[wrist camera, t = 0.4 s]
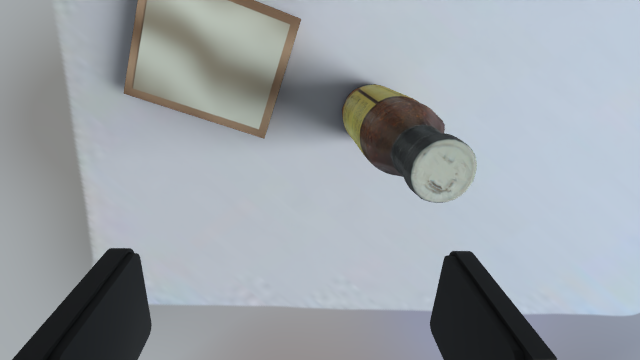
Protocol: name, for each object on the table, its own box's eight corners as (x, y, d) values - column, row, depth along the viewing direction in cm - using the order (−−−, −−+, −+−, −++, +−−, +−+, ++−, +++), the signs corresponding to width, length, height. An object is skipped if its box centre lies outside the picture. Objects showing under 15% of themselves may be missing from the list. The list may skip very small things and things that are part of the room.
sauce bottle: (356, 148, 40) (408, 244, 22) (330, 101, 38) (362, 162, 20) (408, 119, 39) (507, 193, 21) (384, 69, 37) (471, 102, 19)
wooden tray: (155, -38, 32) (143, -44, 30) (300, 20, 35) (301, 19, 32) (134, 89, 36) (122, 93, 34) (266, 132, 39) (264, 138, 36)
